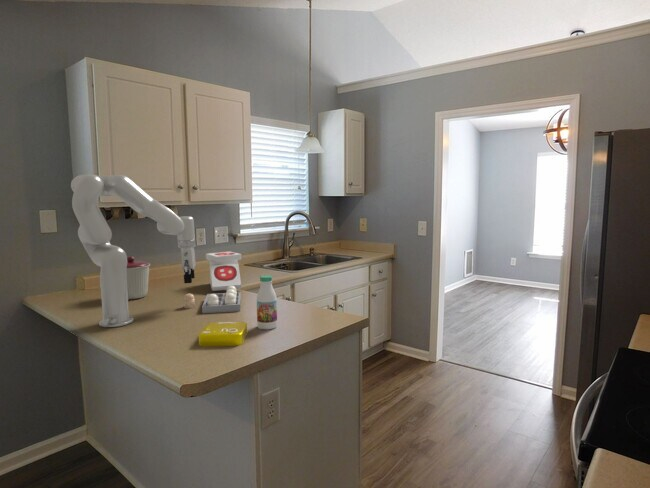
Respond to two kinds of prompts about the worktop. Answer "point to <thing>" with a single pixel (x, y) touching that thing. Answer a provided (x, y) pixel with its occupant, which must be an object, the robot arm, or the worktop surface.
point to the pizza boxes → (224, 270)
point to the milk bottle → (266, 304)
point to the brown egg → (189, 301)
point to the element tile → (223, 334)
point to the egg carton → (222, 301)
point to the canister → (137, 278)
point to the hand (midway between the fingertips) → (189, 280)
